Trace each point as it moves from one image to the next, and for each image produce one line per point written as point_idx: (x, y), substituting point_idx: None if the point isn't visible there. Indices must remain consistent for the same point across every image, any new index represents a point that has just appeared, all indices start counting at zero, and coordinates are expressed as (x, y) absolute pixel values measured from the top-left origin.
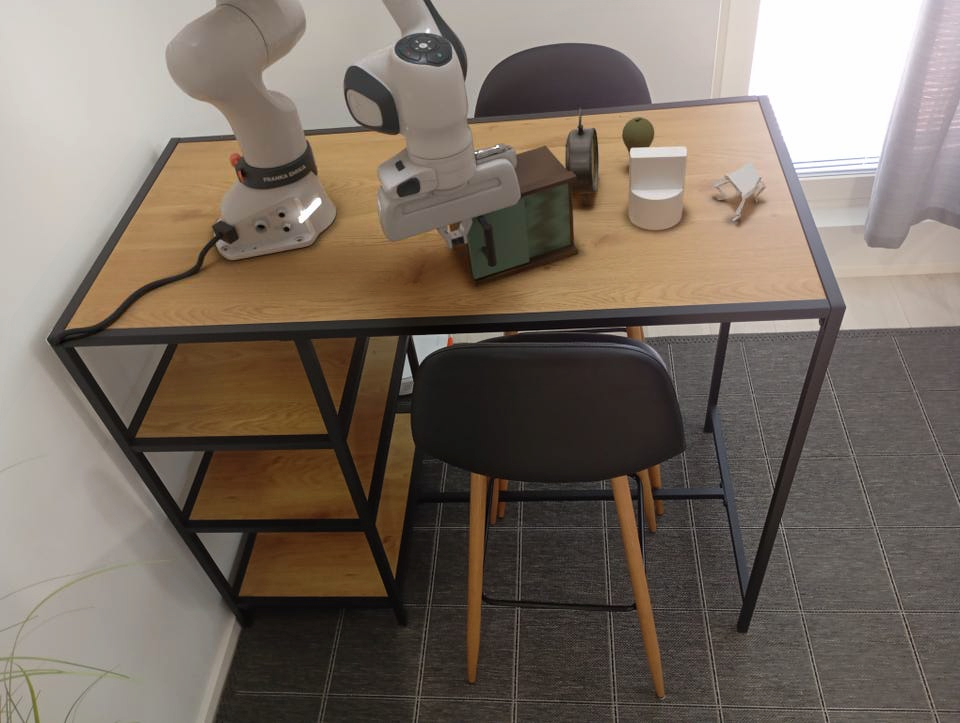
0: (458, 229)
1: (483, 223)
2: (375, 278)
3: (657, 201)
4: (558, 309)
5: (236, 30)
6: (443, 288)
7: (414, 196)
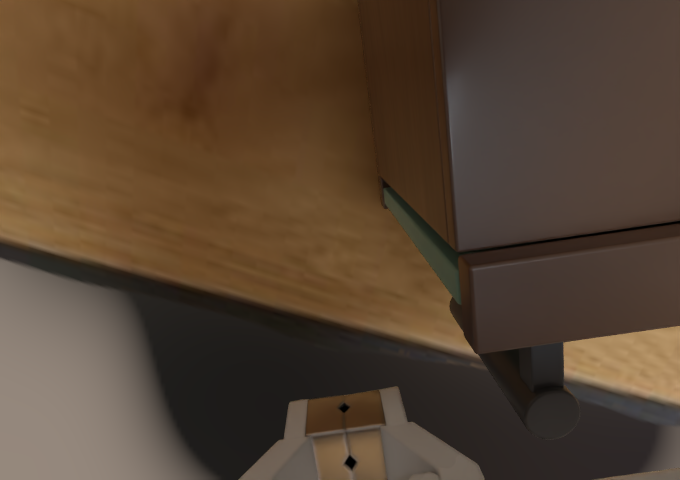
0: (380, 425)
1: (539, 365)
2: (43, 37)
3: None
4: (571, 371)
5: None
6: (279, 179)
7: None
